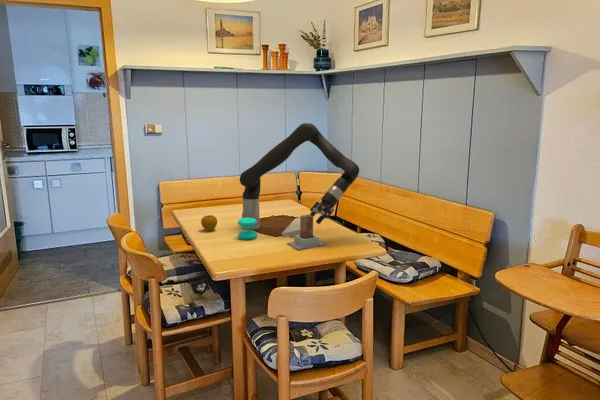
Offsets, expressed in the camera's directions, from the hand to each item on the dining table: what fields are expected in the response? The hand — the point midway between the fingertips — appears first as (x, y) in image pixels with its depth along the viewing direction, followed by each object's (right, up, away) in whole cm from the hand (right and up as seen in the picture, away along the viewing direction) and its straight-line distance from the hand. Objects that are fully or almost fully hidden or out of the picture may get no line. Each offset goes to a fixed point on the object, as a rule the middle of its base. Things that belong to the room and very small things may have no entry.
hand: (312, 221), depth 227 cm
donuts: (-34, -10, +14) cm, 38 cm away
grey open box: (-3, -12, +1) cm, 12 cm away
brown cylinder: (-3, -11, +1) cm, 11 cm away
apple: (-57, -7, +28) cm, 63 cm away
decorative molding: (-8, -7, +31) cm, 33 cm away
